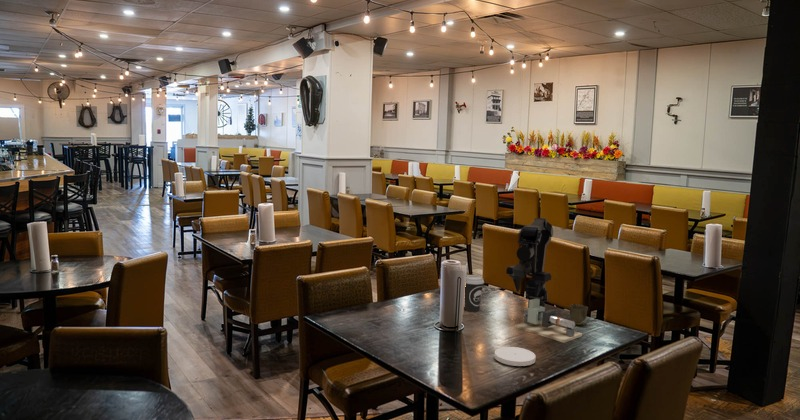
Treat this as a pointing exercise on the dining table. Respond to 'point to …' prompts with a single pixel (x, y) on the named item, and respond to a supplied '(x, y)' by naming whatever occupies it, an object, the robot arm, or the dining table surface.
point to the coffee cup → (473, 293)
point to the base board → (548, 331)
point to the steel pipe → (555, 322)
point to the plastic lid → (514, 356)
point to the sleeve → (534, 311)
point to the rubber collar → (545, 317)
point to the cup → (578, 313)
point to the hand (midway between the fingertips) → (527, 293)
